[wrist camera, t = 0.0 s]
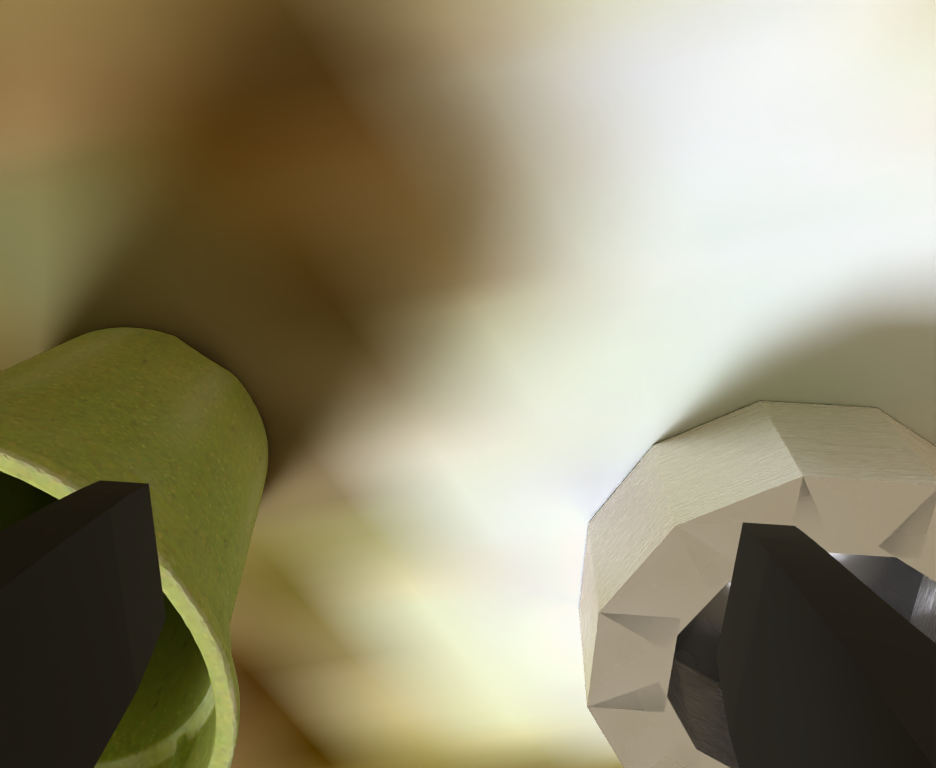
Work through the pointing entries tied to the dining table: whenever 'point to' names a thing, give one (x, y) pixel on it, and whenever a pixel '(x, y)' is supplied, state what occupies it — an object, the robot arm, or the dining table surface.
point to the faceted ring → (714, 552)
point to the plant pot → (173, 506)
